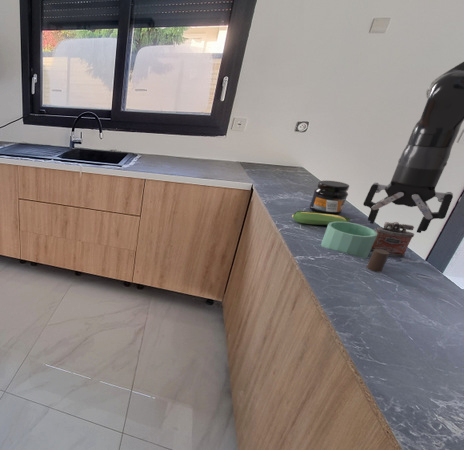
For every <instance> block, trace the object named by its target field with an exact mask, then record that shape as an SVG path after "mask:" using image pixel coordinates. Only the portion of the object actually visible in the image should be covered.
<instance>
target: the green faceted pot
mask: <svg viewBox="0 0 464 450" xmlns="http://www.w3.org/2000/svg"><path fill="white" fill-rule="evenodd" d="M349 222H350V221H349ZM349 222H330V223H329V224H328V225H326V228H325V231H324V235H323V238H322V240H321V243H320V246H321V248H325V249H327V250H331V251H336V252H339V253H343V254H346V255H350V256H354V257H358V258H361V259H367V258H368V257H369V254H370V253H371V251H370V250H371V248H372V246H373V243H374V241H375V239H376V236H377V234H378V233H377V232H376V231H377V230H376V229H373V228H371V227H368V226H366V225H362V224H359V223H354V222H350V223H349Z"/></svg>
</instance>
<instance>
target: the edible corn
mask: <svg viewBox="0 0 464 450" xmlns="http://www.w3.org/2000/svg"><path fill="white" fill-rule="evenodd" d="M291 218H293V220H294V221H295V222H297V223H299V224H302V225H315V226H316V225H317V226H328V224H329V223H330V222H349V223H351V222H350V221H351V220H352V219H351V218H350V217H346V216H342V215H331V214H324V213H317V212H313V211H308V210H298V211H295V213H293V214H292V215H291Z"/></svg>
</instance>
